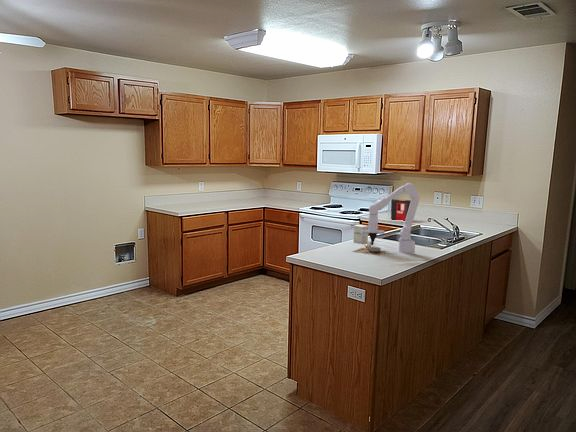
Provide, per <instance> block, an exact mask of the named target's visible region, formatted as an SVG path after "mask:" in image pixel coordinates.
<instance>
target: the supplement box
mask: <svg viewBox="0 0 576 432" xmlns="http://www.w3.org/2000/svg"><path fill="white" fill-rule="evenodd" d="M368 226H369V225H366V224H365V225H364V224H355V225H353V244H363V245H364V244H365V245H366V244H368V240H369V234H361V230H368Z"/></svg>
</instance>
